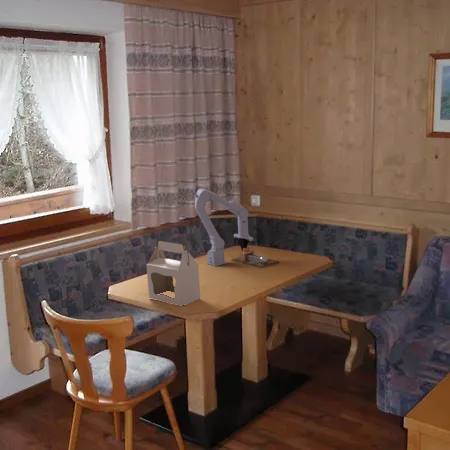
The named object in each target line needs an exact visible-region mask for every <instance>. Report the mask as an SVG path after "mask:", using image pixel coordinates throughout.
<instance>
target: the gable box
mask: <svg viewBox="0 0 450 450" xmlns="http://www.w3.org/2000/svg"><path fill="white" fill-rule="evenodd" d="M186 248H187V245H184V244H183V243H177V242H171V241H165V240H158V245H157V246H155V247H154V250H153V252H152V253H151V256H150V257H149V259H148V261H147V262H146V272H147V275H146V276H147V289H148V290H147V291H148V298H149V297H150V298H153V299H157V300H161V301H164V302H168V303H173V304H177V305H184V304H187V303H189V302H192V301H194V300H197V299H200V300H201V287H200V285H201V284H200V273H199V272H200V271H199V264H198V262H197V261H196V260H195V258H194V257H193V255H191V253H190V252H189V251H188V250H186ZM164 252H169V253H174V254H180V255H181V256H180V259H179V260H178V259H172V258H167V257H166V256H165V253H164ZM174 279H175V284H174ZM166 291H171V292H174V293H175V298H171V297H169V296H167V295H164V294H160V293H163V292H166ZM157 294H160V295H157ZM197 301H198V300H197ZM192 303H193V302H192ZM187 305H188V304H187Z"/></svg>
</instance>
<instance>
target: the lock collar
mask: <svg viewBox="0 0 450 450" xmlns="http://www.w3.org/2000/svg"><path fill="white" fill-rule="evenodd" d="M250 253H251V254H255V250H253V249H250V247H249V246H247V247H246V248H243V252H242V251H240V254H241V255H240V256H241V260H243V261H245V260H246V257H245V255H246V254H250Z"/></svg>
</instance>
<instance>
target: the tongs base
mask: <svg viewBox="0 0 450 450" xmlns="http://www.w3.org/2000/svg"><path fill="white" fill-rule="evenodd" d="M240 256H241V253H240ZM261 256H262V257H256V256H251V255H247V254H246V255H245V257H246V261H250V262H254V263H258V264H267V258H268V256H265V255H264V256H263V255H261Z"/></svg>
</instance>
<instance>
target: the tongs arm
mask: <svg viewBox="0 0 450 450" xmlns="http://www.w3.org/2000/svg"><path fill="white" fill-rule="evenodd" d="M247 255H251V256H256V257H262V256H263V255H260V254H255V253H254V254H251V253H250V254H247Z"/></svg>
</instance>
